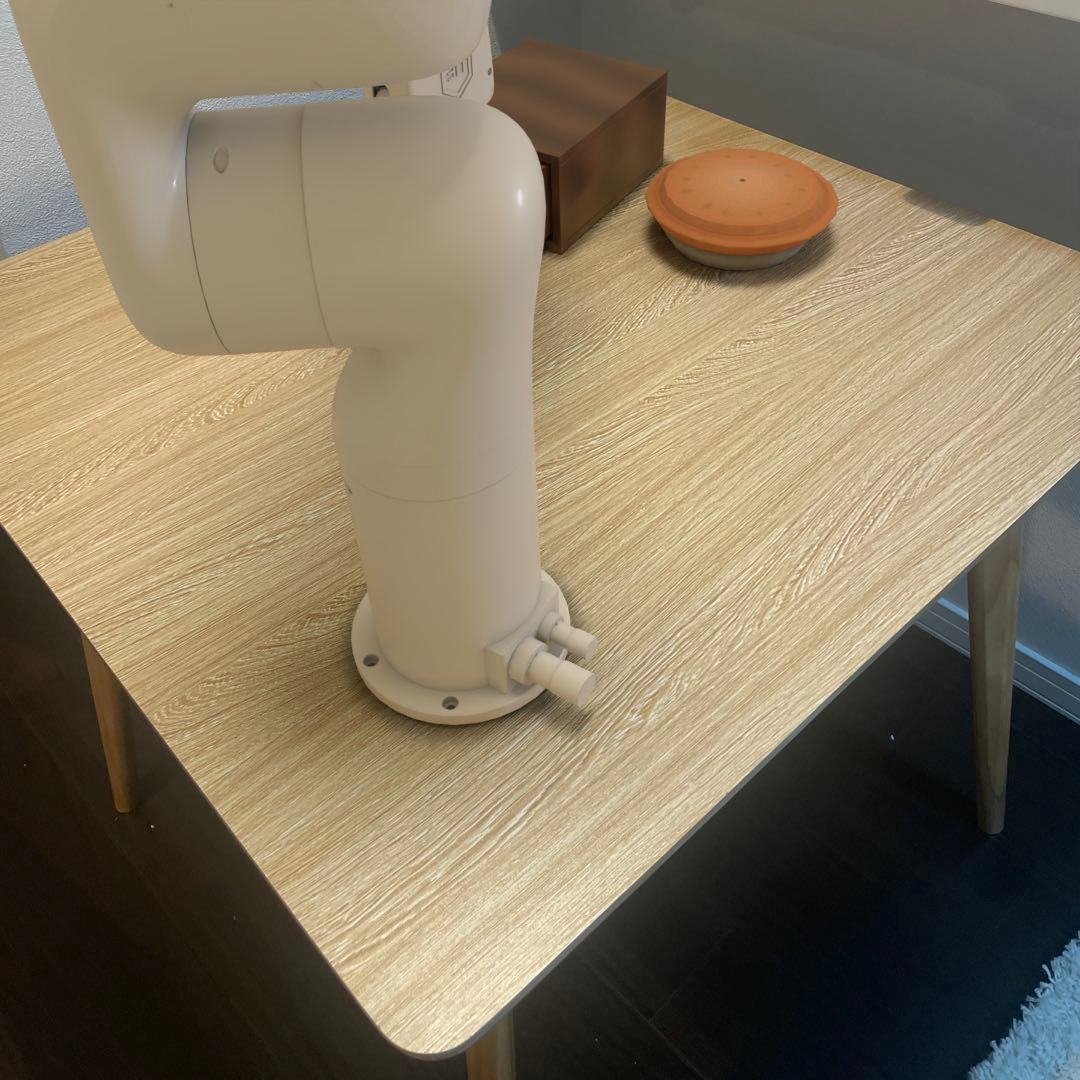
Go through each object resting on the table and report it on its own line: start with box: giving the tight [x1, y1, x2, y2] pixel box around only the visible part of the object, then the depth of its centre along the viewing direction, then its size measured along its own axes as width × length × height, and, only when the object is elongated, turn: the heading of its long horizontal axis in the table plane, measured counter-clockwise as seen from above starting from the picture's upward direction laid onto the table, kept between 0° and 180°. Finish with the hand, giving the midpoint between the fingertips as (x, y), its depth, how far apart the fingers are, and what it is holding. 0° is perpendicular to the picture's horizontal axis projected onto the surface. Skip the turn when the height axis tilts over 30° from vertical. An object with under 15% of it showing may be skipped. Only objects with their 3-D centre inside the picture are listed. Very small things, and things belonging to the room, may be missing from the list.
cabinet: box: [487, 36, 669, 255], centre depth 97 cm, size 18×15×9 cm
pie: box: [644, 147, 840, 272], centre depth 92 cm, size 15×16×5 cm
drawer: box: [539, 161, 553, 239], centre depth 88 cm, size 22×13×7 cm, turn 147°
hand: (439, 201), depth 88 cm, fingers closed on medicine box, 4 cm apart
